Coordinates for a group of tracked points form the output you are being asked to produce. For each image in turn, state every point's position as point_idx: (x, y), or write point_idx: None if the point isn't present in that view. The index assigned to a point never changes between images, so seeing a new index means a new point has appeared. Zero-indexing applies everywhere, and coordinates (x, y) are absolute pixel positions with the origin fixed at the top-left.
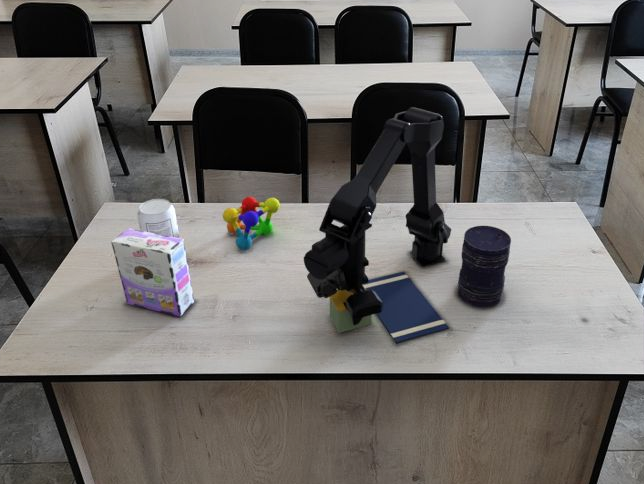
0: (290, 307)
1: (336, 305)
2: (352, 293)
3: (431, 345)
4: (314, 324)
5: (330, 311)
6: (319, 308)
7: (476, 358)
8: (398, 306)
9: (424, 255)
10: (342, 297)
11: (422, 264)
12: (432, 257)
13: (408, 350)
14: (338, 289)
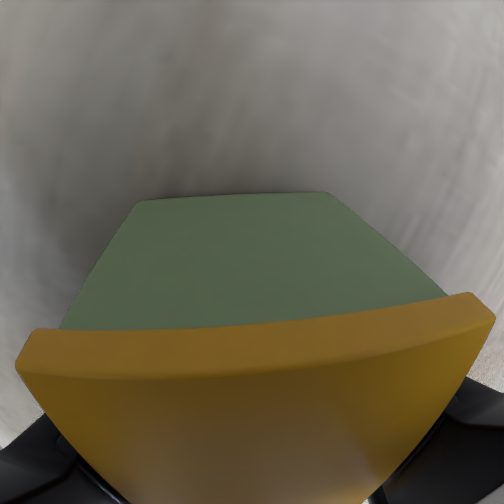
0: (475, 35)
1: (117, 386)
2: (307, 496)
3: None
4: (306, 66)
5: (336, 211)
6: (425, 163)
7: None
8: None
9: (384, 492)
10: (300, 458)
11: None
12: (370, 496)
13: (32, 408)
14: (445, 415)
